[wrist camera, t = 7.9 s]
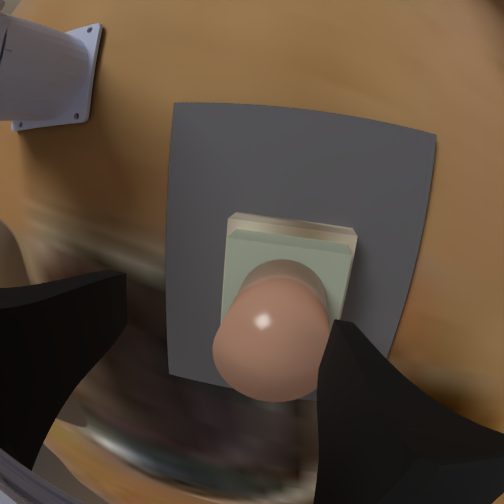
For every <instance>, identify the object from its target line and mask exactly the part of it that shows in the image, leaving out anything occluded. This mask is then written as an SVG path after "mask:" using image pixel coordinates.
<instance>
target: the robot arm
mask: <svg viewBox="0 0 504 504" xmlns="http://www.w3.org/2000/svg"><path fill="white" fill-rule="evenodd" d="M4 5H5V1H4V0H0V11H1V10H2V9H3V7H4ZM102 29H103V26H102V25H101V24H99V23H96V24H92V25H88V26H85V27H81V28H78V29H75V30H71V31H68V32H65V33H64V32H61V31H58V30H55V29H53V28H50V27H47V26H44V25H41V24H38V23H35V22H31V21H28V20H25V19H22V18H18V17H15V16H11V15H7V14H4V13H2V12H0V121H12V130H13V131H21V130H27V129H33V128H40V127H48V126H56V125H64V124H74V123H84V122H86V121H87V120H88V118H89V113H90V103H91V95H92V87H93V79H94V73H95V66H96V60H97V54H98V49H99V43H100V38H101V33H102ZM91 30H92V31H91ZM90 31H91V32H90ZM78 114H79V118H78V119H77V115H78ZM126 324H127V303H126V274H125V273H121V272H117V271H113V270H106V271H99V272H94V273H89V274H84V275H80V276H75V277H71V278H66V279H62V280H57V281H52V282H47V283H42V284H36V285H30V286H23V287H13V288H0V479H1V480H2V481H3V482H4V483H6V484H7V485H8V486H9V487H11V488H12V489H13V490H15V491H16V492H17V493H19V494H20V495H22V496H23V497H24V498H26V499H27V500H28V501H30V502H31V503H33V504H86V503H84V502H82V501H80V500H78V499H76V498H74V497H73V496H71V495H69V494H67V493H65V492H64V491H62V490H60V489H59V488H57V487H55V486H54V485H52V484H50V483H49V482H47V481H46V480H44V479H43V478H41V477H39V476H38V475H36V474H35V473H33V472H32V468H33V465H34V463H35V460H36V458H37V455H38V453H39V451H40V448H41V446H42V444H43V442H44V440H45V438H46V436H47V434H48V432H49V430H50V428H51V426H52V424H53V422H54V421H55V419H56V417H57V415H58V414H59V412H60V410H61V408H62V407H63V405H64V404H65V402H66V401H67V399H68V398H69V396H70V395H71V393H72V392H73V390H74V389H75V388H76V386H77V385H78V384H79V382H80V381H81V380H82V379H83V378H84V377H85V376H86V374H87V373H88V372H89V371H90V370H91V369H92V368H93V367H94V366H95V364H96V363H97V362H98V361H99V360H100V359H101V358H102V357H103V356H104V354H105V353H106V352H107V351H108V350H109V349H110V348H111V346H112V345H113V344H114V343H115V341H116V340H117V339H118V337H119V336H120V334H121V332H122V331H123V329H124V328H125V326H126ZM317 414H318V434H319V463H318V473H317V482H316V490H315V497H314V504H492V503H493V502H494V501H495V500H496V499H497V498H498V497H499V496H500V495H502V494H503V493H504V434H503V433H500V432H498V431H495V430H492V429H489V428H487V427H484V426H482V425H479V424H477V423H475V422H473V421H471V420H469V419H467V418H465V417H463V416H461V415H459V414H457V413H455V412H454V411H452V410H450V409H448V408H447V407H445V406H444V405H442V404H440V403H439V402H437V401H436V400H434V399H433V398H431V397H430V396H428V395H427V394H426V393H424V392H423V391H422V390H420V389H419V388H418V387H417V386H415V385H414V384H413V383H412V382H410V381H409V380H408V379H407V378H406V377H405V376H403V375H402V374H401V373H400V372H399V371H398V370H397V369H396V368H395V367H394V366H393V365H392V364H391V363H390V362H389V361H388V360H387V359H386V358H385V357H384V356H383V355H382V354H381V353H380V352H379V351H378V349H377V348H376V347H375V346H374V345H373V344H372V343H371V342H370V341H369V339H368V338H367V337H366V336H365V335H364V334H363V333H362V331H361V330H360V329H359V328H358V327H357V326H356V325H355V324H354V323H353V322H348V321H343V320H337V319H334V322H333V325H332V329H331V332H330V335H329V338H328V341H327V345H326V348H325V351H324V354H323V357H322V360H321V363H320V366H319V369H318V380H317ZM0 504H27V503H26V502H25V501H23V500H22V499H21V498H20V497H18V496H17V495H16V494H15V493H13V492H12V491H11V490H9V489H8V488H7V487H6V486H5V485H3V484H2V483H1V482H0Z"/></svg>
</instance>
